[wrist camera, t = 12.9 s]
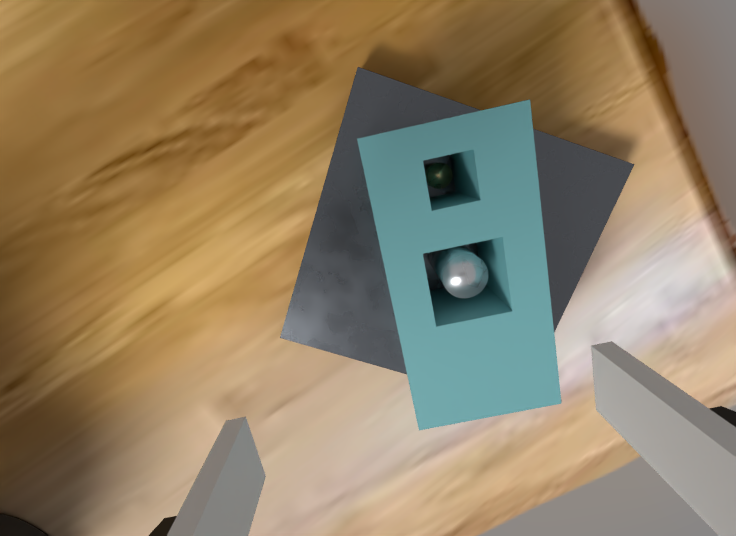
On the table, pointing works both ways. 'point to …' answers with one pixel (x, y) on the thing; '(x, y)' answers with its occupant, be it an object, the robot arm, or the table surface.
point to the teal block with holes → (495, 248)
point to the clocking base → (353, 241)
